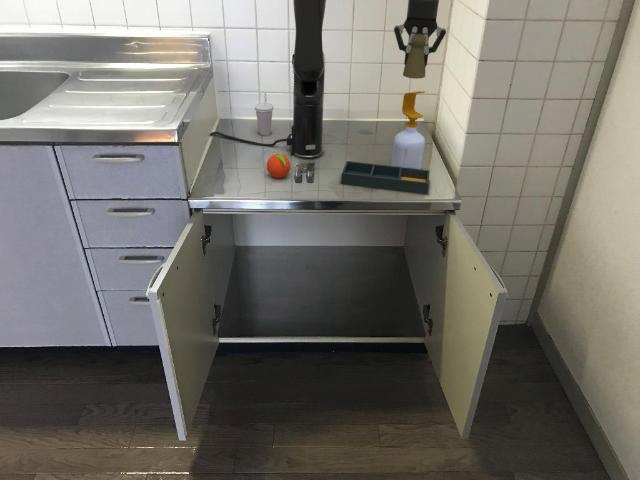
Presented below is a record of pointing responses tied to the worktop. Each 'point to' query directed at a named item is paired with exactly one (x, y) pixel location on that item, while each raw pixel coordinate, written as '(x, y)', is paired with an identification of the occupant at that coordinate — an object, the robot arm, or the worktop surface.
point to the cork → (416, 58)
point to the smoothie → (264, 117)
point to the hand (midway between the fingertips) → (415, 67)
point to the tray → (385, 177)
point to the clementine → (278, 165)
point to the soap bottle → (409, 137)
